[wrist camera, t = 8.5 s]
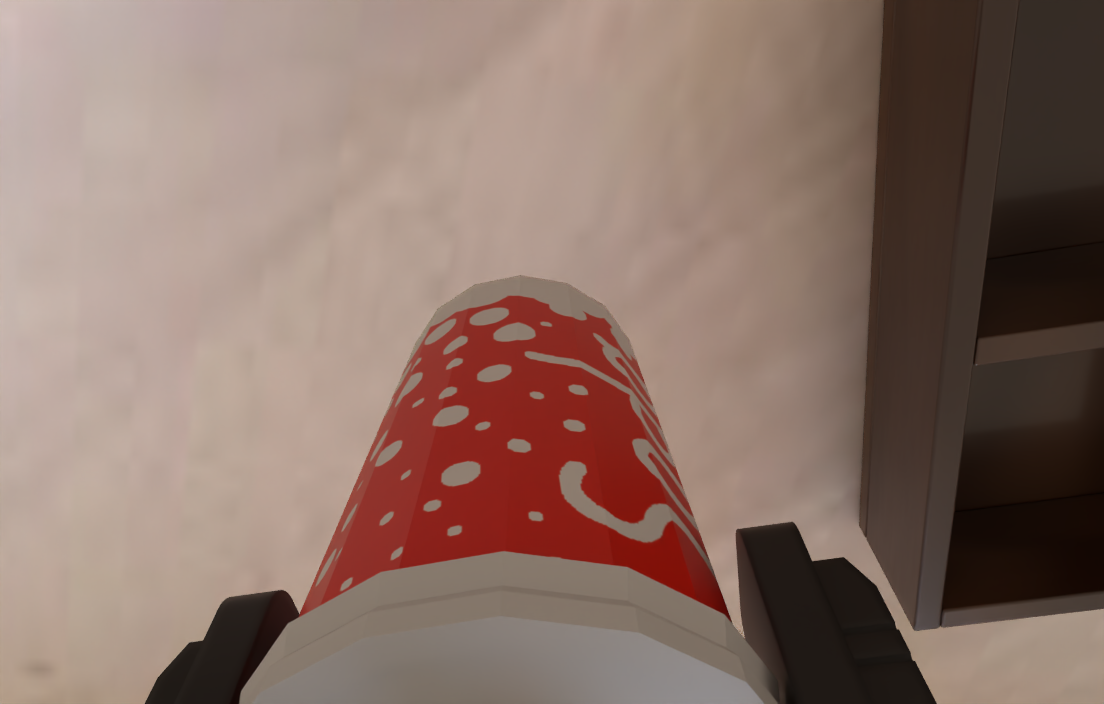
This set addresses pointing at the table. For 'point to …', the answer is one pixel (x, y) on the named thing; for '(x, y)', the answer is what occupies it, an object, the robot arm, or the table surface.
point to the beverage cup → (516, 533)
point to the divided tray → (988, 311)
